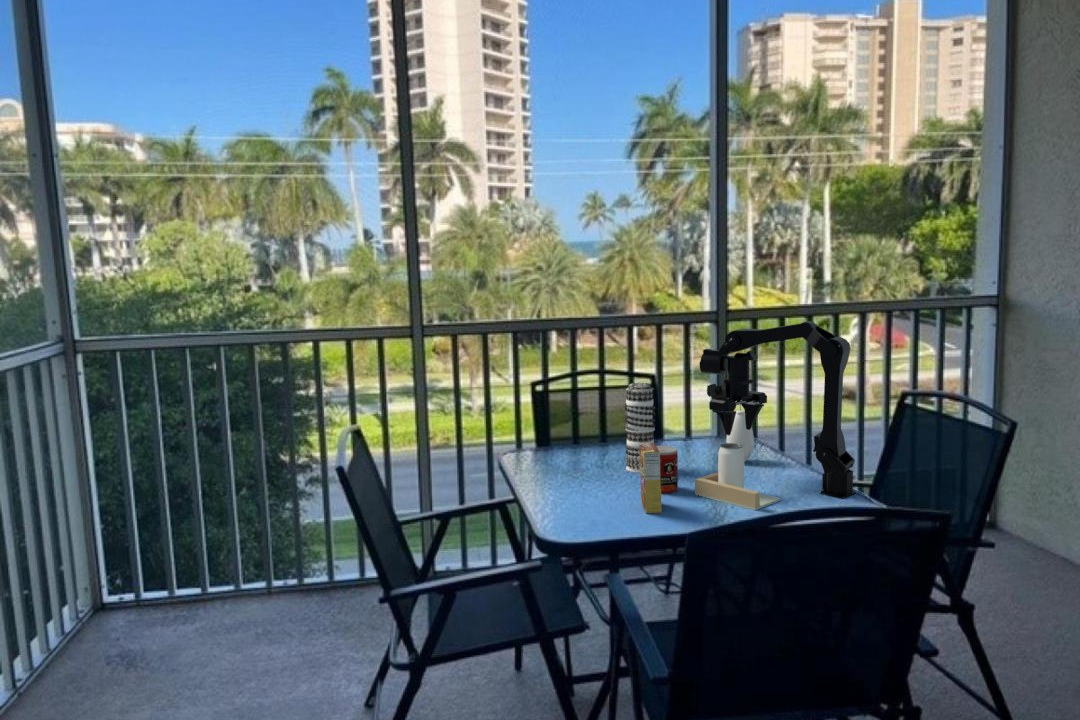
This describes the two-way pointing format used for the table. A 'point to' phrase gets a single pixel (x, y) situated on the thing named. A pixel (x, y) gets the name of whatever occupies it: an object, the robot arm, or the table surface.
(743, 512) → the table surface
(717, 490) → the cleat board
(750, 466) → the table surface
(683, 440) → the table surface
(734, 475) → the can
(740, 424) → the sauce bottle
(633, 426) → the decorative candle
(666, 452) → the canned food
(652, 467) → the candy box
